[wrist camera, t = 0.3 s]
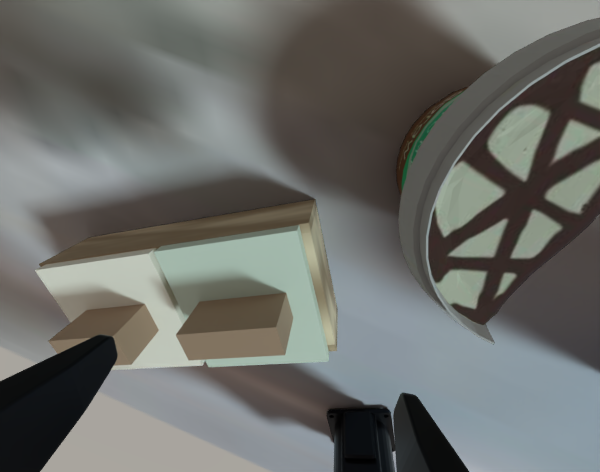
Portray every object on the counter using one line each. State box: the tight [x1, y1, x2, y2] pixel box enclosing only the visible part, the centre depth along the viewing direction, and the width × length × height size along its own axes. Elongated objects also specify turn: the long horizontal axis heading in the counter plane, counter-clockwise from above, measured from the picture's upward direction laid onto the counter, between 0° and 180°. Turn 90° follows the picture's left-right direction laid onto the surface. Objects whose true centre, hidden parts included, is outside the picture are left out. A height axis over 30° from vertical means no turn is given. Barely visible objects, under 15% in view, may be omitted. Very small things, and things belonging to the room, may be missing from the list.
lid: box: [35, 248, 205, 370], centre depth 20 cm, size 10×9×4 cm
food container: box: [396, 18, 600, 345], centre depth 13 cm, size 12×6×10 cm, turn 159°
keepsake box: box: [39, 199, 337, 351], centre depth 22 cm, size 10×20×4 cm, turn 102°
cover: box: [154, 225, 329, 367], centre depth 17 cm, size 10×9×4 cm
